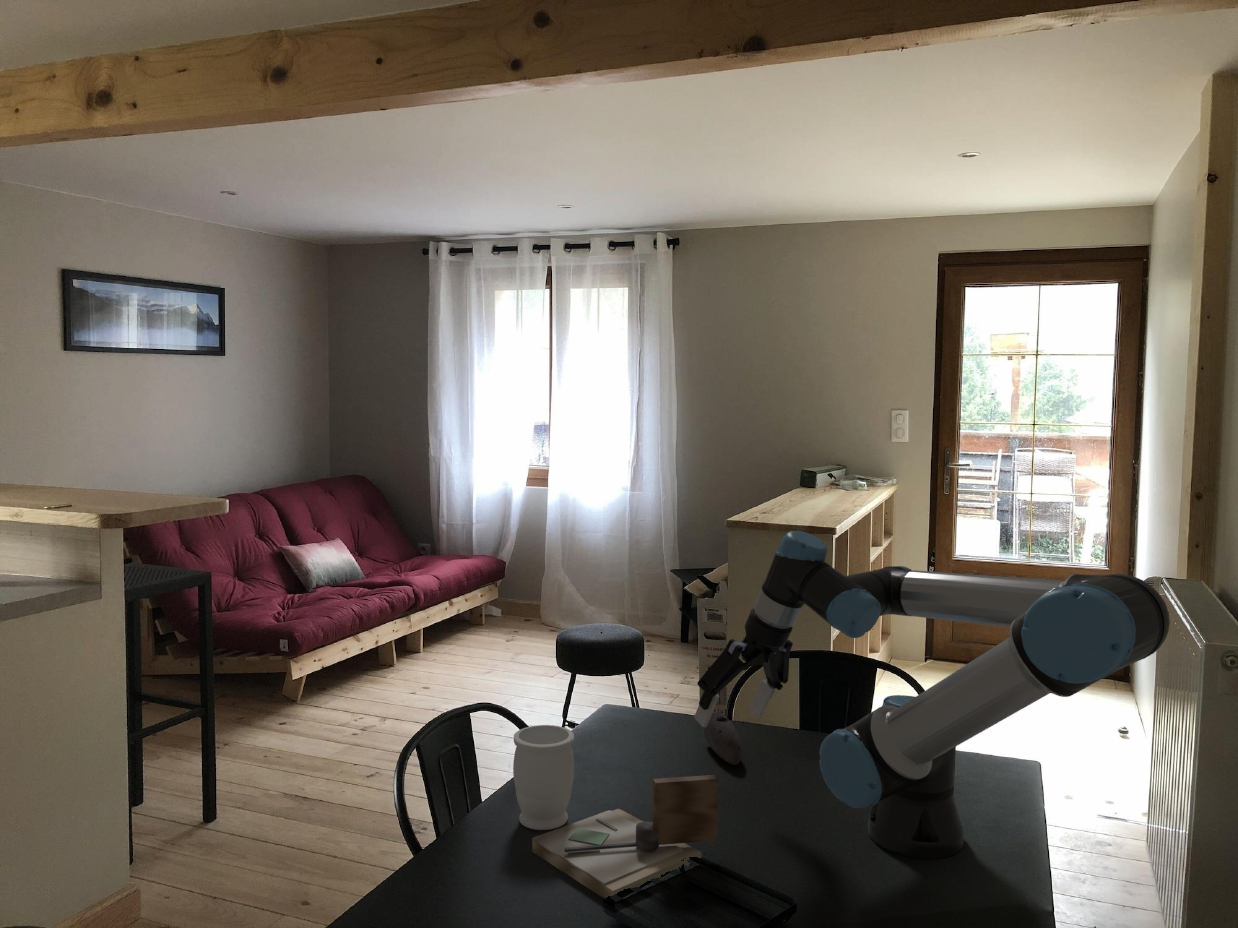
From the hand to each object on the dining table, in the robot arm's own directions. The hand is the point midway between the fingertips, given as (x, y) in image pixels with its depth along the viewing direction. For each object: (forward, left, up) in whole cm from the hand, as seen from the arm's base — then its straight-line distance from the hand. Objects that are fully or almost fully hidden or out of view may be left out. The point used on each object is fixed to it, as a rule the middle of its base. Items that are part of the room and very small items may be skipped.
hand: (728, 717), depth 169 cm
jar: (+16, +28, -16) cm, 36 cm away
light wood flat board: (-2, +27, -16) cm, 32 cm away
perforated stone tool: (+16, -17, -16) cm, 28 cm away
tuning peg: (-6, +25, -13) cm, 29 cm away
